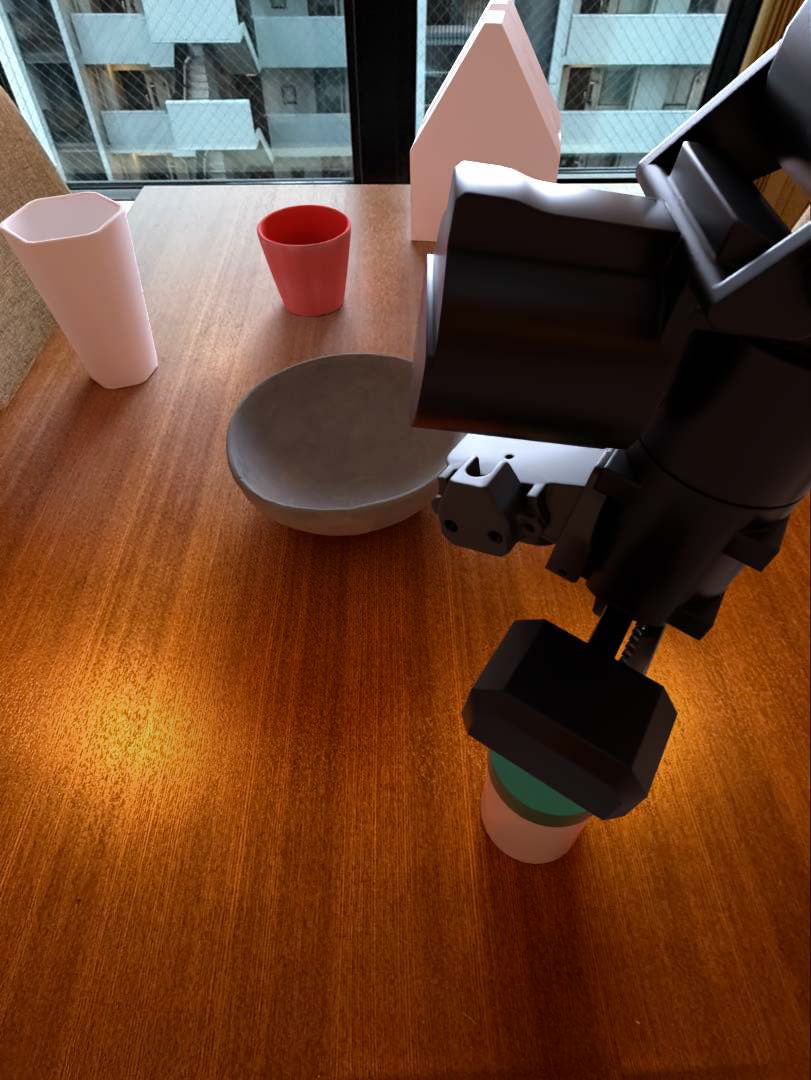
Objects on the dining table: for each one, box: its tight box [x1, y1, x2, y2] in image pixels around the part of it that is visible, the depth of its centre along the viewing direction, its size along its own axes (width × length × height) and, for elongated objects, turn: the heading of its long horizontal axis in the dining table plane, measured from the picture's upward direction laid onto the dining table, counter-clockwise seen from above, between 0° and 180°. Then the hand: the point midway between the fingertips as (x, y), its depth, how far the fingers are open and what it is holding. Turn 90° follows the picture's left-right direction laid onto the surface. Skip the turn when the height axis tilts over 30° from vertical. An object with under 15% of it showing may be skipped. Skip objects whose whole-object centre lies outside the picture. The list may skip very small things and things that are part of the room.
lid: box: [486, 747, 594, 828], centre depth 35 cm, size 7×7×2 cm
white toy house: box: [409, 0, 562, 243], centre depth 88 cm, size 19×15×25 cm
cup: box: [0, 191, 159, 390], centre depth 68 cm, size 11×10×17 cm
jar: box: [480, 766, 590, 865], centre depth 39 cm, size 6×6×9 cm
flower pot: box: [256, 204, 352, 317], centre depth 79 cm, size 11×11×10 cm
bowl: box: [225, 352, 468, 537], centre depth 58 cm, size 21×21×8 cm
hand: (569, 677), depth 33 cm, fingers open, 9 cm apart
